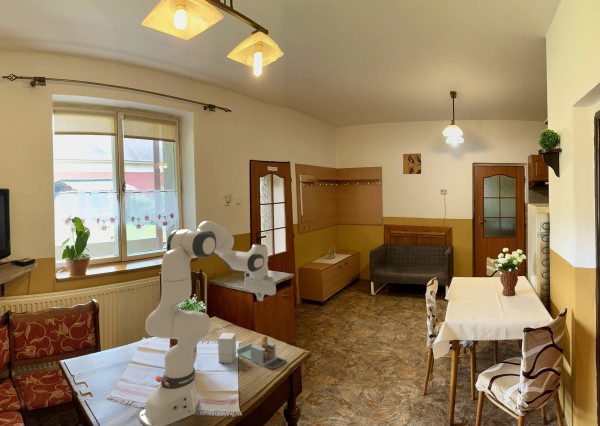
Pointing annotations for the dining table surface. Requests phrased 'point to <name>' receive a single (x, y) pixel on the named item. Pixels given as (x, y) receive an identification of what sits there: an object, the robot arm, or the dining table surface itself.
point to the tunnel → (260, 355)
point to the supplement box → (227, 347)
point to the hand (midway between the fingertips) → (260, 300)
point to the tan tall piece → (268, 352)
